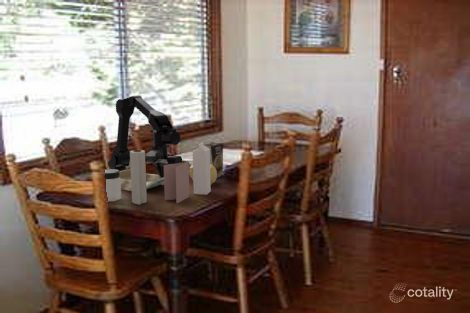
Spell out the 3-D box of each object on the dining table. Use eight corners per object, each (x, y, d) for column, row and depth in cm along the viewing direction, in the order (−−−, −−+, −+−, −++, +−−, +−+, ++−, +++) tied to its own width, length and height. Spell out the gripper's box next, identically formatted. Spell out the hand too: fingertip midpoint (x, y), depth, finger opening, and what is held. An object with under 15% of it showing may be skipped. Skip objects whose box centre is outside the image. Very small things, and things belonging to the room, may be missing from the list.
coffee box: (213, 179, 283) (213, 145, 280) (202, 177, 286) (201, 144, 283) (223, 175, 290) (223, 143, 287) (213, 174, 294) (212, 142, 291)
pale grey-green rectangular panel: (139, 189, 259) (154, 180, 254) (159, 183, 271) (174, 173, 266) (140, 192, 259) (156, 182, 254) (161, 185, 271) (176, 176, 266)
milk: (193, 194, 254) (191, 143, 250) (197, 190, 260) (196, 141, 256) (207, 194, 253) (205, 143, 249) (211, 191, 258) (209, 141, 254)
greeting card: (188, 196, 250) (187, 161, 247) (196, 200, 244) (196, 164, 241) (163, 200, 244) (162, 164, 241) (172, 204, 238) (170, 167, 235)
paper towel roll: (137, 199, 245) (134, 149, 242) (149, 201, 243) (147, 149, 239) (127, 204, 239) (125, 152, 235) (140, 205, 237) (138, 152, 233)
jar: (123, 200, 245) (122, 172, 243) (103, 202, 241) (102, 174, 239) (117, 195, 253) (116, 168, 251) (98, 198, 249) (97, 170, 247)
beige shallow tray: (113, 188, 266) (112, 173, 264) (135, 181, 279) (135, 167, 278) (137, 192, 259) (136, 176, 258) (159, 184, 272) (159, 169, 271)
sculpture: (186, 186, 269) (186, 162, 267) (199, 180, 280) (199, 158, 278) (209, 188, 264) (208, 164, 262) (221, 182, 275) (220, 160, 273)
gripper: (131, 144, 256) (134, 180, 258) (166, 146, 247) (168, 183, 249) (148, 141, 265) (149, 175, 268) (182, 143, 256) (183, 178, 259)
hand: (162, 178), depth 261 cm, fingers closed
